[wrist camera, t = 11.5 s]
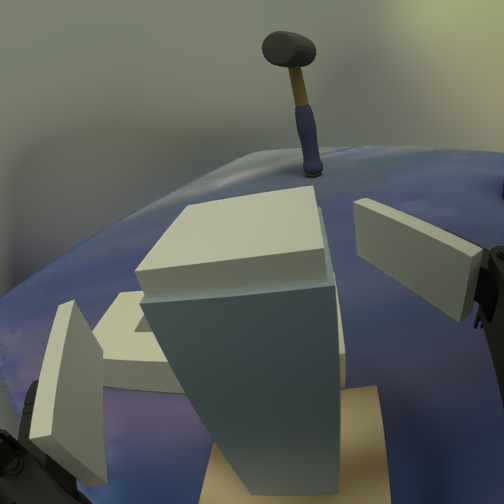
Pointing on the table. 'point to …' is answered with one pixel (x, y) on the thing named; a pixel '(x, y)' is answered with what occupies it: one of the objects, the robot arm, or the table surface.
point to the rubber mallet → (297, 88)
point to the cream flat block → (148, 349)
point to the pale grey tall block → (254, 334)
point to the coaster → (351, 461)
